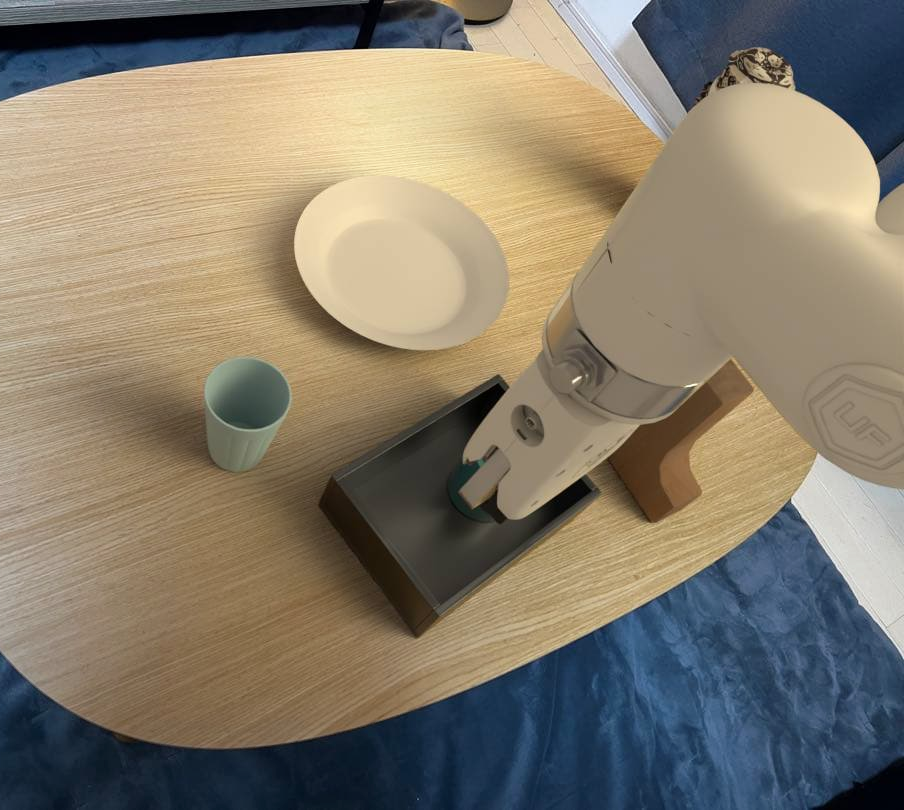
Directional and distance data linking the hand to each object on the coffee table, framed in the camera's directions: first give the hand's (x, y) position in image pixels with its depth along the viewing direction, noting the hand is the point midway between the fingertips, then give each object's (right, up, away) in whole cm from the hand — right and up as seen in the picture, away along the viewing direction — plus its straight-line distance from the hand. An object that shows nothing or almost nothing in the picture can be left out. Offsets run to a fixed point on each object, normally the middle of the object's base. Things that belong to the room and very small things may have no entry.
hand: (492, 500), depth 55 cm
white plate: (-5, +21, +44) cm, 49 cm away
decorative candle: (+31, +31, +59) cm, 74 cm away
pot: (+3, -2, +31) cm, 31 cm away
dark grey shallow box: (0, -5, +30) cm, 30 cm away
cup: (-21, +2, +28) cm, 35 cm away
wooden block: (+22, -2, +37) cm, 43 cm away
